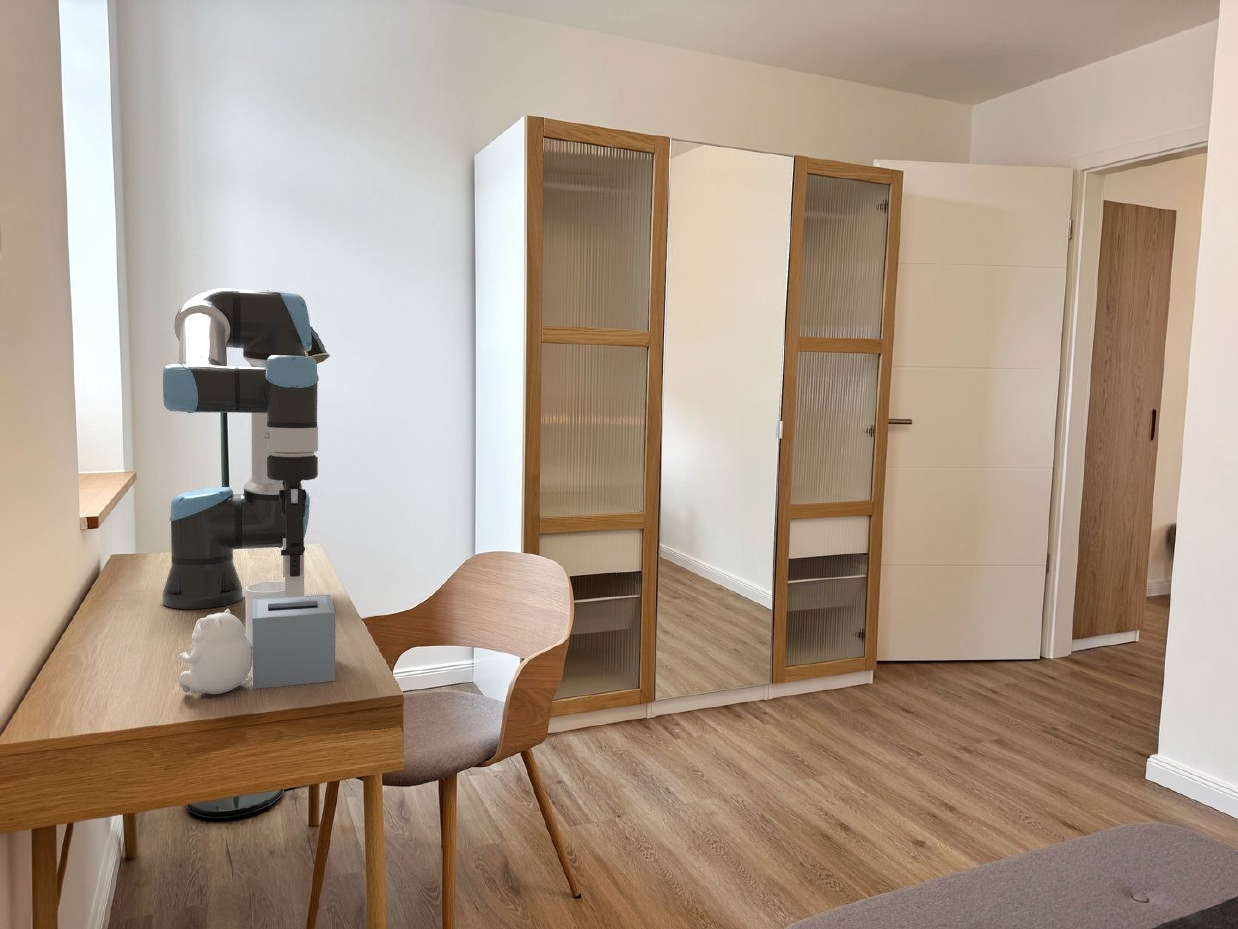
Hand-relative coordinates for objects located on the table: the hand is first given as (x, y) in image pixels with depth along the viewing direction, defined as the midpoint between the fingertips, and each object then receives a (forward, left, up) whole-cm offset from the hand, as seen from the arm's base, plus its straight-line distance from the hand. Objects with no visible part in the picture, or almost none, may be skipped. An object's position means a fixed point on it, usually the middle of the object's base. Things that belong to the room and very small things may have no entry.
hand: (293, 586), depth 139 cm
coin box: (0, 0, -14) cm, 14 cm away
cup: (-20, -3, -14) cm, 25 cm away
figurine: (+5, -11, -14) cm, 19 cm away
